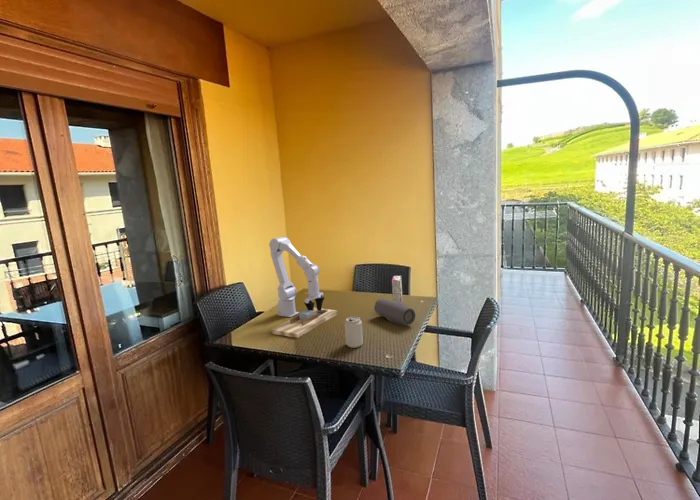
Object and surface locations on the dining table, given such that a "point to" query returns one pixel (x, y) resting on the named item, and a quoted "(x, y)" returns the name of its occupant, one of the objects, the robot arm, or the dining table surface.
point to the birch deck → (299, 330)
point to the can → (353, 332)
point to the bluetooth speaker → (395, 311)
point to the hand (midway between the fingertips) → (315, 312)
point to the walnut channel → (304, 320)
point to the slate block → (305, 314)
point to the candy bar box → (397, 289)
